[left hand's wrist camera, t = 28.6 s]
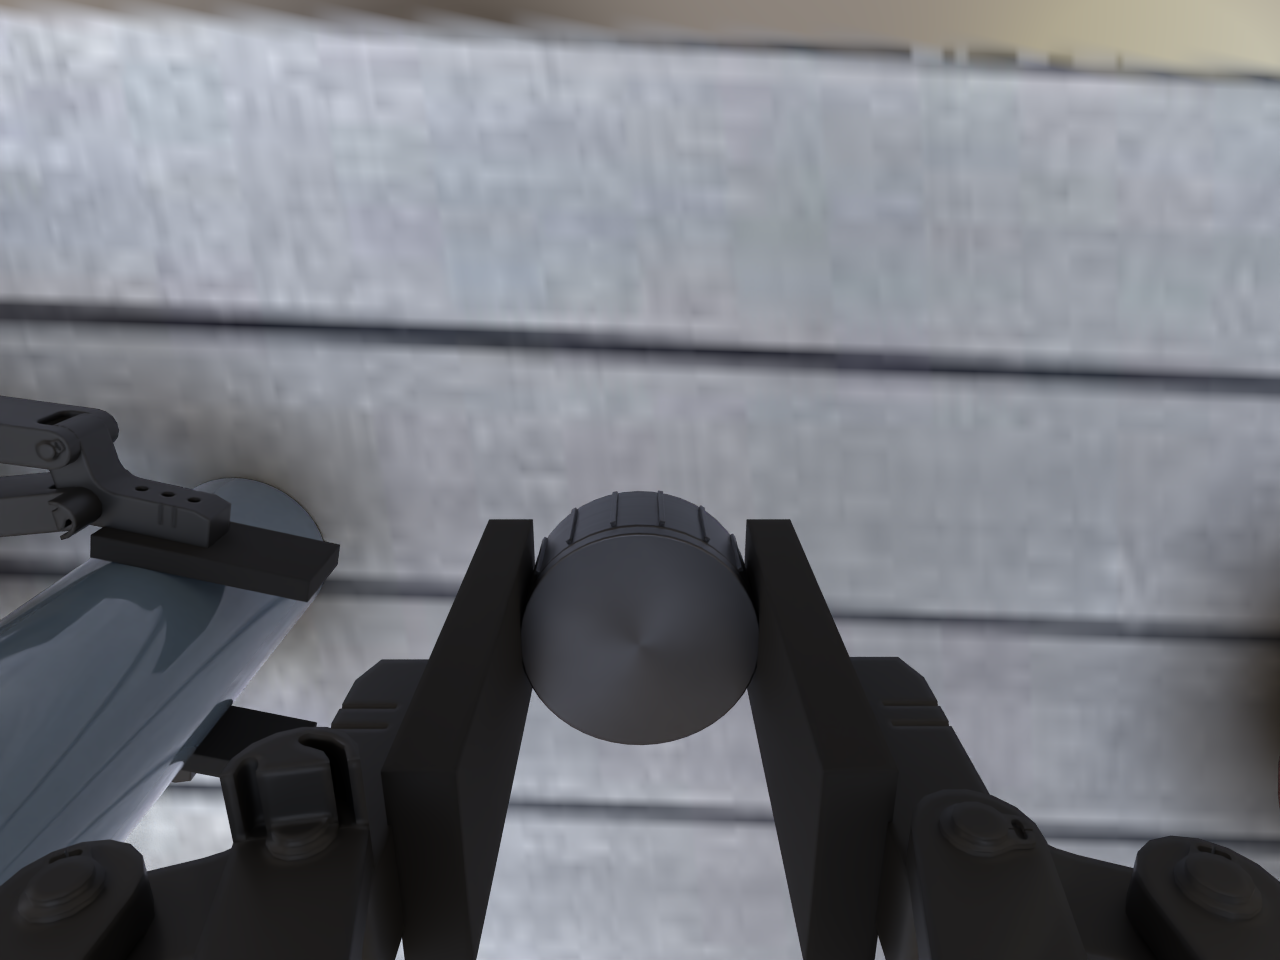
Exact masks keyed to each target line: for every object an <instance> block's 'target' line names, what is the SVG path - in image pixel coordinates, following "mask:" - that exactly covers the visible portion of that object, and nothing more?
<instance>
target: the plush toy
mask: <svg viewBox="0 0 1280 960" xmlns="http://www.w3.org/2000/svg"><path fill="white" fill-rule="evenodd" d="M1278 799H1279V806H1280V758H1279V763H1278Z"/></svg>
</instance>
